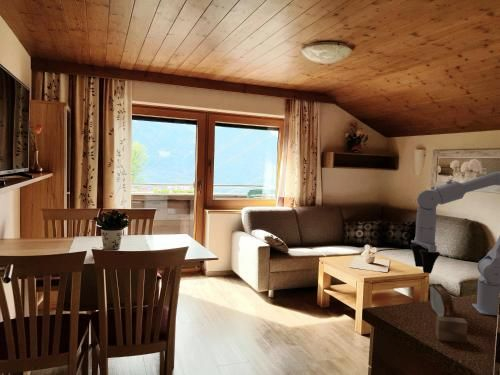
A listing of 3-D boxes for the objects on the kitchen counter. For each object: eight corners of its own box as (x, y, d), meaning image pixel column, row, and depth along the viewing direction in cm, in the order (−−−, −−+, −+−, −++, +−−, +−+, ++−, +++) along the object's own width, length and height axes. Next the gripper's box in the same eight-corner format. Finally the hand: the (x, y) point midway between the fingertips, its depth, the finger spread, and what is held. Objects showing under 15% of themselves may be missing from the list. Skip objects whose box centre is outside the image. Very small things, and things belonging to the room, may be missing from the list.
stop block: (462, 337, 95) (463, 318, 95) (466, 343, 92) (467, 323, 92) (435, 334, 97) (436, 315, 96) (438, 340, 94) (439, 320, 93)
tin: (454, 326, 102) (455, 296, 102) (441, 325, 103) (443, 295, 103) (438, 307, 117) (439, 280, 117) (427, 306, 118) (428, 279, 117)
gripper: (405, 223, 127) (403, 263, 128) (420, 230, 113) (417, 275, 114) (427, 224, 127) (425, 264, 127) (444, 232, 112) (441, 276, 113)
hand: (423, 269), depth 121 cm, fingers open, 7 cm apart
